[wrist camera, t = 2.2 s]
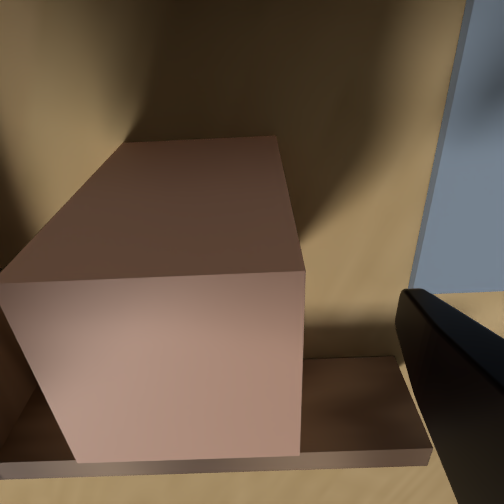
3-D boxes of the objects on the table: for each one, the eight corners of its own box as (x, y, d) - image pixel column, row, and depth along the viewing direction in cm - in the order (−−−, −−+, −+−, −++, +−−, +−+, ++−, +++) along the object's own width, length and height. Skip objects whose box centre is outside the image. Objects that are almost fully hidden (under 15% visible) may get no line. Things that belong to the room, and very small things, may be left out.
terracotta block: (275, 135, 11) (305, 270, 6) (277, 263, 14) (299, 455, 8) (123, 142, 12) (-11, 284, 6) (150, 269, 14) (77, 463, 8)
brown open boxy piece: (496, -148, 8) (667, -256, 5) (390, 372, 17) (427, 465, 13) (-219, -105, 9) (-525, -180, 5) (30, 386, 17) (-24, 480, 14)
